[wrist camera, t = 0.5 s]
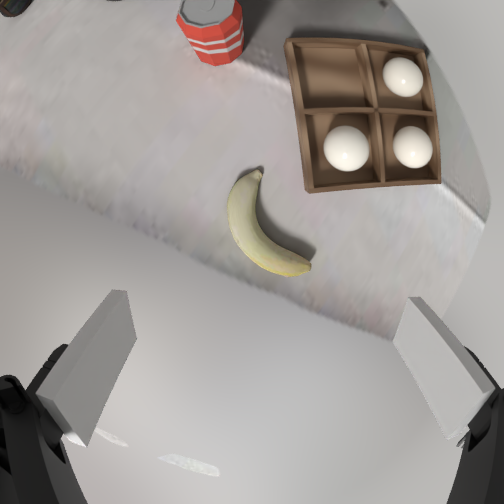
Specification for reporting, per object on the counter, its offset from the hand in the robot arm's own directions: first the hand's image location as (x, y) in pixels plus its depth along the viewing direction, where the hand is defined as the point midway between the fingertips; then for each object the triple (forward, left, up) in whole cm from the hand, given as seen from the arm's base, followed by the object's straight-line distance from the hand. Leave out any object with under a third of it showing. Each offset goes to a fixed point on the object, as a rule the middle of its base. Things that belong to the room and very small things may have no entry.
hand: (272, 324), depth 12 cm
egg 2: (-16, +21, -25) cm, 36 cm away
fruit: (+3, +1, -26) cm, 26 cm away
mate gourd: (-51, -39, -26) cm, 69 cm away
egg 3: (-7, +21, -25) cm, 33 cm away
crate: (-11, +16, -26) cm, 32 cm away
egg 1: (-7, +11, -25) cm, 28 cm away
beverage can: (-22, -2, -26) cm, 34 cm away
